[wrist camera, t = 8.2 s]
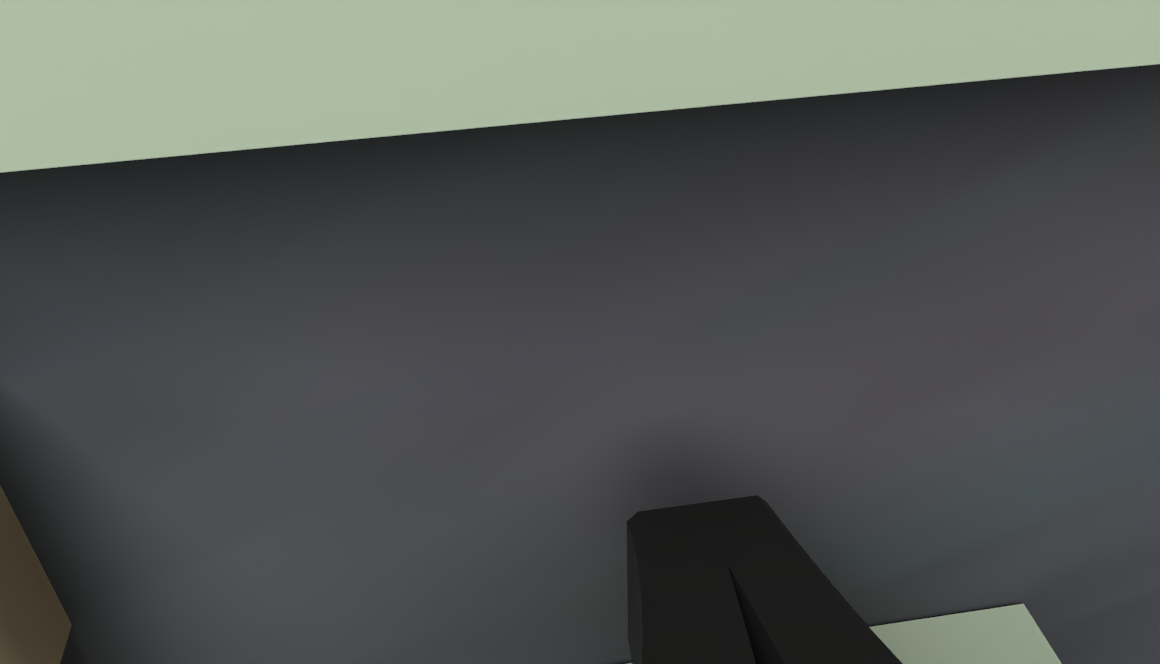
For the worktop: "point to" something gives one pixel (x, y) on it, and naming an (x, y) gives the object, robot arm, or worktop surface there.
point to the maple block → (27, 600)
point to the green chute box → (517, 95)
